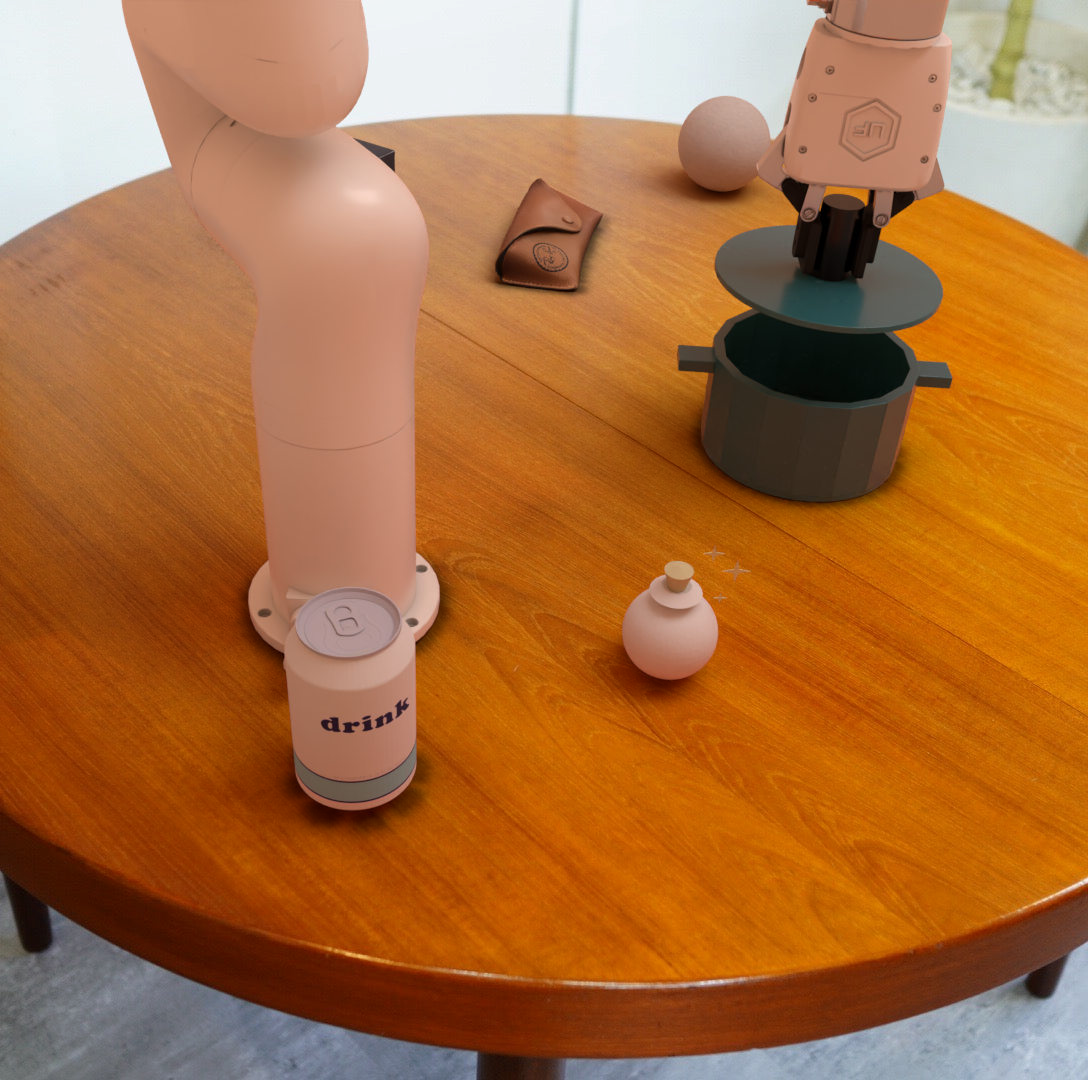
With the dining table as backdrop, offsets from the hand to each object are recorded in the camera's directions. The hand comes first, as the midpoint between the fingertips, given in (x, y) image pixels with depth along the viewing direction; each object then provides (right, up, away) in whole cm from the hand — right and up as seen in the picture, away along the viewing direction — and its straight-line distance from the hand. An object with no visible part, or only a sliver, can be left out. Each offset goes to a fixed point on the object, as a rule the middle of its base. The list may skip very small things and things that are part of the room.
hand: (829, 266), depth 97 cm
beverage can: (-32, -34, -20) cm, 51 cm away
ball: (-2, +19, +50) cm, 54 cm away
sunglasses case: (-20, +9, +36) cm, 42 cm away
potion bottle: (-13, -28, -11) cm, 33 cm away
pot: (-1, -12, +10) cm, 16 cm away
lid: (0, -1, +1) cm, 1 cm away
